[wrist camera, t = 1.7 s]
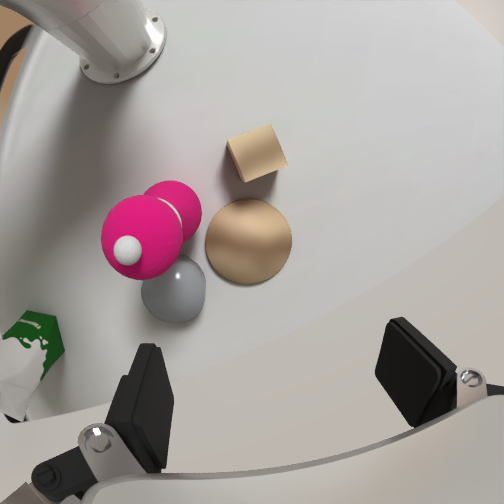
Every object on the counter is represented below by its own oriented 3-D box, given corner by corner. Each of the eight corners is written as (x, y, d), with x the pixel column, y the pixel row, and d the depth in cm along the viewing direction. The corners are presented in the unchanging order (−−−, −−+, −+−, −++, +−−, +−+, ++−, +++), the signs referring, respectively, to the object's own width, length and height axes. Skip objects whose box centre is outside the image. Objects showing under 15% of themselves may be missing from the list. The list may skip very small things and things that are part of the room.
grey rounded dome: (143, 256, 35) (135, 266, 31) (202, 252, 36) (201, 261, 32) (153, 310, 37) (148, 324, 34) (208, 306, 38) (208, 321, 34)
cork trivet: (202, 202, 34) (202, 202, 33) (289, 197, 35) (291, 197, 34) (209, 284, 37) (209, 286, 36) (290, 277, 38) (291, 280, 37)
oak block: (226, 144, 32) (227, 140, 28) (263, 130, 32) (271, 123, 28) (241, 181, 34) (245, 182, 29) (278, 166, 34) (288, 165, 29)
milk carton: (59, 311, 36) (-7, 389, 17) (70, 356, 38) (23, 437, 19) (22, 304, 35) (-44, 368, 15) (34, 347, 37) (-17, 416, 18)
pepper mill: (212, 191, 34) (202, 217, 15) (192, 244, 35) (163, 327, 16) (159, 171, 32) (87, 174, 13) (140, 224, 34) (63, 285, 15)
